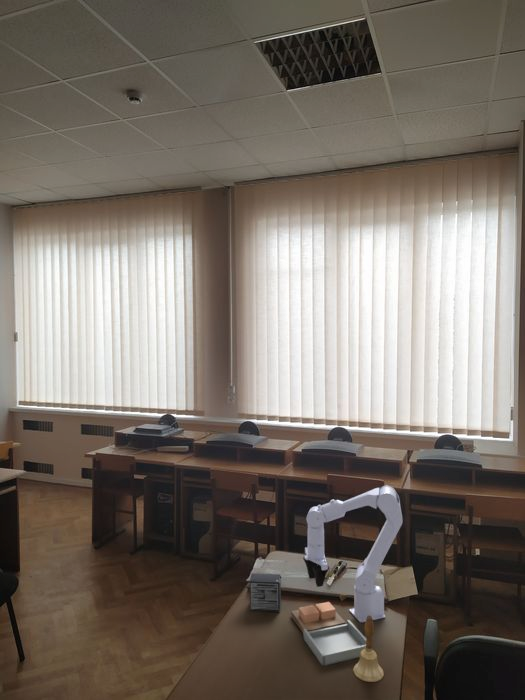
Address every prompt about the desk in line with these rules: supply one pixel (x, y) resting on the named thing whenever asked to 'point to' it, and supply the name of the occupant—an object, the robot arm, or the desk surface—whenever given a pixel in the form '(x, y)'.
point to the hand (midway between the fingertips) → (315, 581)
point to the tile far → (308, 613)
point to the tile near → (325, 610)
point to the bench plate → (316, 622)
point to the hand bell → (368, 658)
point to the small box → (265, 592)
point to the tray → (336, 643)
